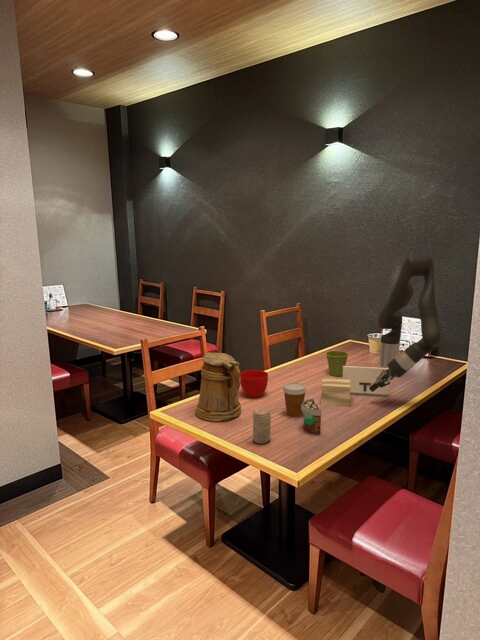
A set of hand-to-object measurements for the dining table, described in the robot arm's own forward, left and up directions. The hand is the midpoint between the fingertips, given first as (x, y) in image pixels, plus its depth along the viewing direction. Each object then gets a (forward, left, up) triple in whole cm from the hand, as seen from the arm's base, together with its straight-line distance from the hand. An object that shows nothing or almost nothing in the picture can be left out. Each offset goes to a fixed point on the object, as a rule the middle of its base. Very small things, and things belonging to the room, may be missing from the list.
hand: (370, 390), depth 198 cm
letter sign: (-12, -2, -6) cm, 13 cm away
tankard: (+23, -60, -6) cm, 65 cm away
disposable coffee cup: (+17, -31, -6) cm, 36 cm away
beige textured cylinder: (+43, -40, -6) cm, 59 cm away
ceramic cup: (-3, -51, -6) cm, 51 cm away
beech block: (+1, -15, -6) cm, 16 cm away
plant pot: (-37, -15, -6) cm, 40 cm away
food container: (+30, -24, -6) cm, 39 cm away
